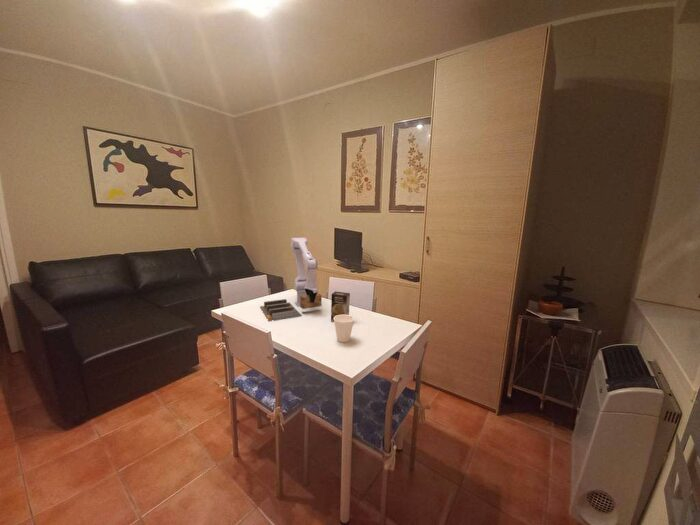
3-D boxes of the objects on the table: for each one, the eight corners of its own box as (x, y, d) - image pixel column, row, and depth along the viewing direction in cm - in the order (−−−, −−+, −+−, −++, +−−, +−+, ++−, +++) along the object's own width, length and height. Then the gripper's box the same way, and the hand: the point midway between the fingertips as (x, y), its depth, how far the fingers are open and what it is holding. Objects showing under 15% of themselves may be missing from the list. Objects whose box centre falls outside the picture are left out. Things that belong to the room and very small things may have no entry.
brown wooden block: (318, 304, 174) (319, 293, 172) (321, 306, 170) (321, 295, 169) (300, 307, 168) (300, 295, 167) (302, 309, 165) (302, 297, 163)
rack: (289, 303, 184) (289, 298, 183) (301, 316, 162) (301, 310, 162) (259, 307, 175) (259, 302, 174) (268, 321, 153) (268, 315, 153)
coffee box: (330, 321, 155) (330, 293, 152) (334, 317, 161) (334, 290, 159) (346, 323, 153) (346, 295, 150) (349, 319, 159) (350, 292, 156)
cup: (342, 333, 141) (342, 312, 139) (357, 339, 135) (358, 318, 133) (328, 340, 133) (329, 318, 131) (344, 346, 127) (345, 324, 125)
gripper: (300, 277, 170) (300, 298, 173) (308, 283, 158) (308, 305, 160) (311, 276, 174) (311, 297, 176) (320, 281, 161) (320, 304, 164)
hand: (311, 301), depth 169 cm, fingers closed on brown wooden block, 4 cm apart
